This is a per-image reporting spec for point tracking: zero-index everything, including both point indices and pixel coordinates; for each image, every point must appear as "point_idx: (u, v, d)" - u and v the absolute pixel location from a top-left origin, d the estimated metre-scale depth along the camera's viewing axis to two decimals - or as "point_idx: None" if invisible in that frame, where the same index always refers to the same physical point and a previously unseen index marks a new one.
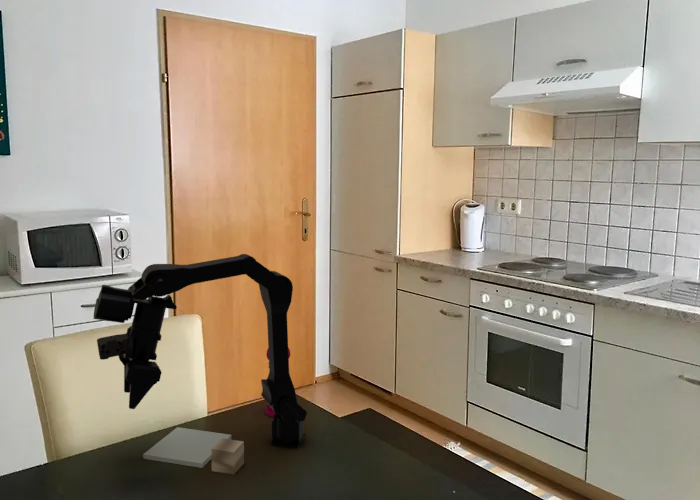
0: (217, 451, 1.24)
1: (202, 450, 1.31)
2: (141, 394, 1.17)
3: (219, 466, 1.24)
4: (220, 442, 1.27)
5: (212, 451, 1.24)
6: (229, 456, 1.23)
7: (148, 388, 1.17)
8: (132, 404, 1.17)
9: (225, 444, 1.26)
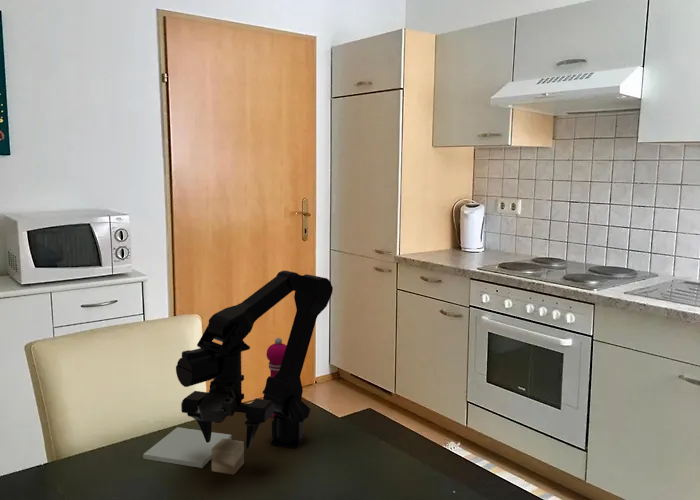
0: (216, 451, 1.24)
1: (202, 450, 1.31)
2: (255, 431, 1.25)
3: (219, 466, 1.24)
4: (220, 442, 1.27)
5: (212, 451, 1.24)
6: (229, 456, 1.23)
7: None
8: (250, 444, 1.24)
9: (225, 444, 1.26)
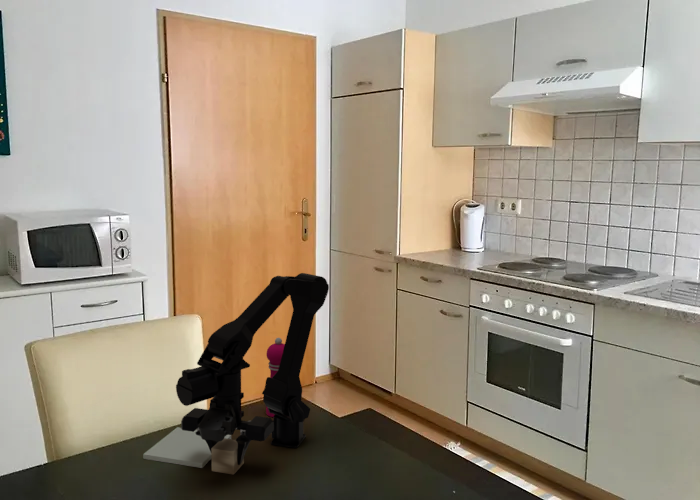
0: (216, 451, 1.24)
1: (202, 450, 1.31)
2: (246, 447, 1.26)
3: (219, 466, 1.24)
4: (220, 442, 1.27)
5: (212, 451, 1.24)
6: (229, 456, 1.23)
7: None
8: (241, 460, 1.25)
9: (225, 444, 1.26)
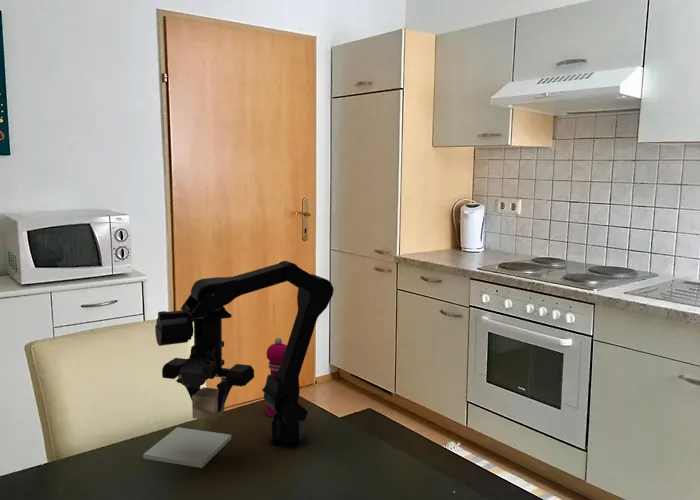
0: (197, 398, 1.25)
1: (202, 450, 1.31)
2: (227, 395, 1.28)
3: (200, 413, 1.26)
4: (201, 390, 1.29)
5: (193, 398, 1.26)
6: (210, 403, 1.25)
7: (231, 387, 1.28)
8: (221, 407, 1.27)
9: (205, 392, 1.28)
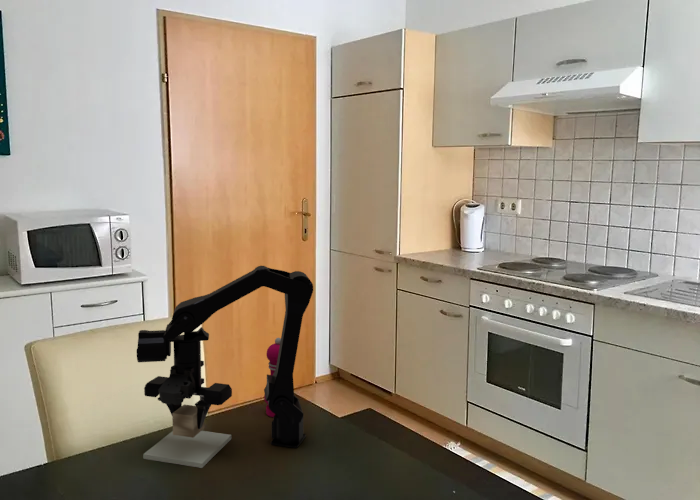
0: (177, 415, 1.31)
1: (202, 450, 1.31)
2: (206, 412, 1.33)
3: (180, 429, 1.31)
4: (181, 407, 1.34)
5: (173, 415, 1.31)
6: (188, 420, 1.30)
7: (210, 404, 1.34)
8: (201, 424, 1.32)
9: (185, 409, 1.33)
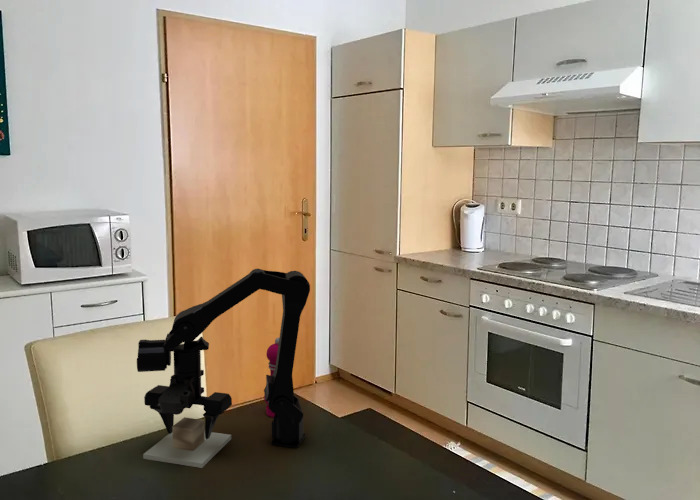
0: (177, 428, 1.31)
1: (202, 450, 1.31)
2: (214, 423, 1.33)
3: (179, 443, 1.32)
4: (181, 420, 1.34)
5: (173, 428, 1.32)
6: (188, 434, 1.31)
7: (218, 415, 1.33)
8: (209, 435, 1.32)
9: (185, 423, 1.33)
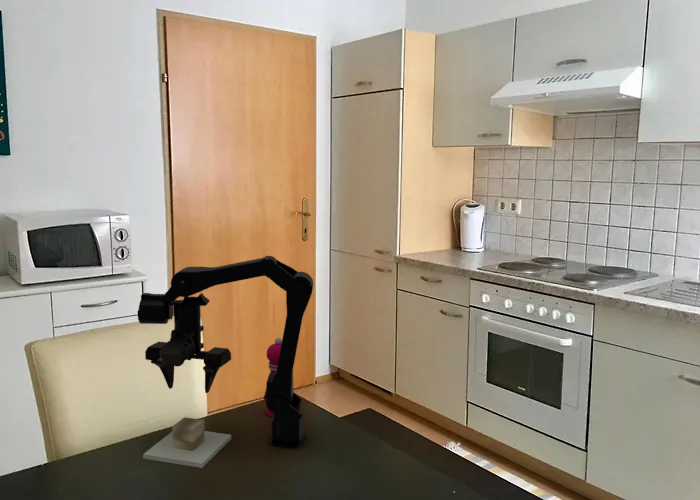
0: (177, 428, 1.31)
1: (202, 450, 1.31)
2: (213, 377, 1.36)
3: (179, 443, 1.32)
4: (181, 420, 1.34)
5: (173, 428, 1.32)
6: (188, 434, 1.31)
7: (217, 369, 1.36)
8: (208, 389, 1.35)
9: (185, 423, 1.33)
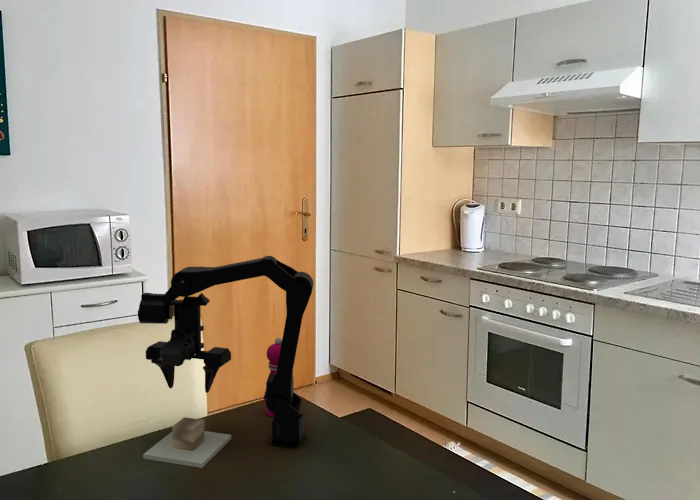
0: (177, 428, 1.31)
1: (202, 450, 1.31)
2: (213, 377, 1.36)
3: (179, 443, 1.32)
4: (181, 420, 1.34)
5: (173, 428, 1.32)
6: (188, 434, 1.31)
7: (217, 369, 1.36)
8: (208, 388, 1.35)
9: (185, 423, 1.33)
